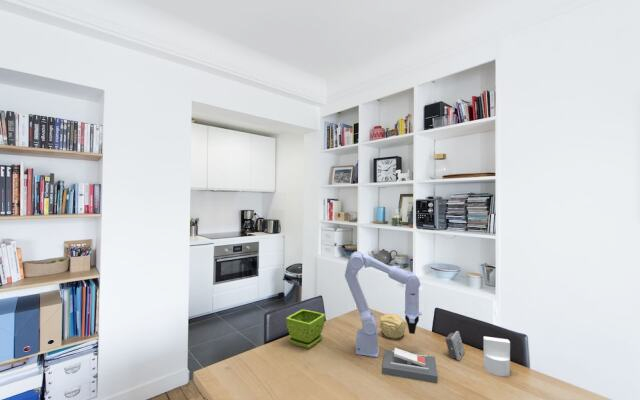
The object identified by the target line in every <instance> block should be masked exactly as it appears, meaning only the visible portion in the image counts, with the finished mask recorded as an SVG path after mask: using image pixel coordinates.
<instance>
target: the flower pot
mask: <svg viewBox="0 0 640 400" xmlns="http://www.w3.org/2000/svg"><path fill="white" fill-rule="evenodd" d="M285 319H286V320H285V322H286V328H287V331H288V333H289V336H290V337H289V338H288V341H289V342H290V343H291V344H293V345H296V346H299V347H303V348H305V349H311V347H312V346H314V345H315V344H317V343H318V342H319V341H321V340H322V339H323V337H324V336H323V335H322V332H323V329H324V327H325V326H324V325H325V319H326V314H325V313H321V312H318V311H313V310H308V309H304V308H303V309H300V310H298V311H296V312H294V313H293V314H290V315H289V316H287V317H286V318H285Z"/></svg>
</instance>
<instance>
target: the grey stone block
mask: <svg viewBox="0 0 640 400" xmlns="http://www.w3.org/2000/svg"><path fill="white" fill-rule="evenodd" d="M445 343H446V346H447V347H446V348H447V350H448V353H449V357H450V359H456V360H457V361H458V362H459V361H461V359H462V358H463V356H464V355H465V353H466V351H465V346H464V344H463V340H462V337H461V334H460V331H459V330H456V331H455V332H450V333H449V334H448V335H447V336H446V337H445Z"/></svg>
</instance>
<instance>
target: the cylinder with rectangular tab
mask: <svg viewBox="0 0 640 400" xmlns="http://www.w3.org/2000/svg"><path fill="white" fill-rule="evenodd" d="M483 369H484V370H485V371H486V372H487V373H489V374H491V375H494V376H497V377H502V378H503V377H509V376H510V375H511V374H510V373H511V341H510V340H509V339H507V338H501V337H500V338H499V337H492V336H486V335H485V336H483Z"/></svg>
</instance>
